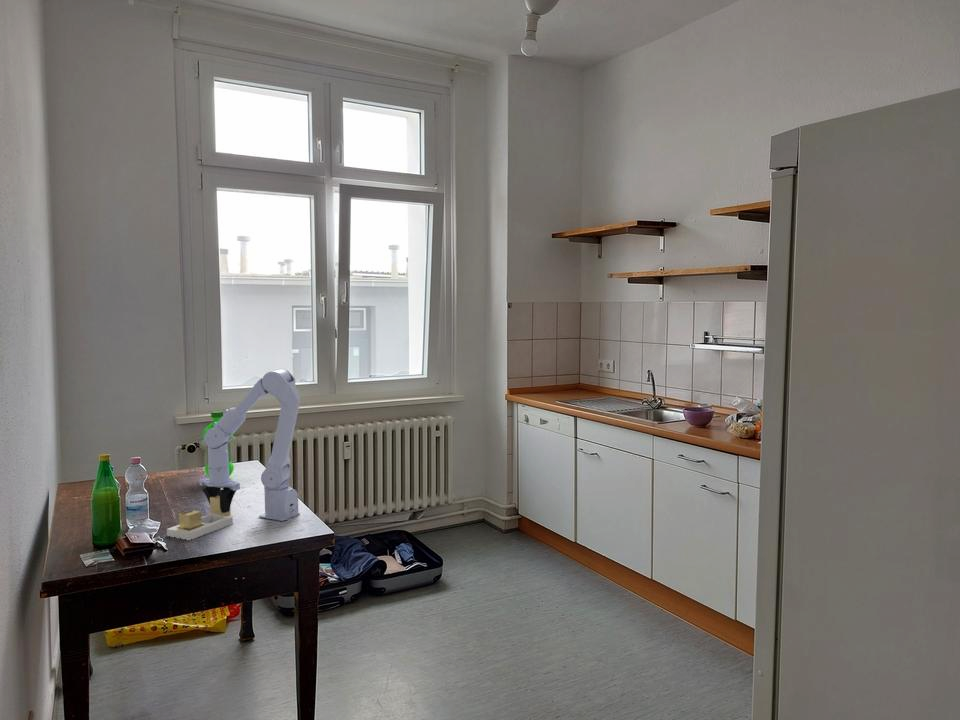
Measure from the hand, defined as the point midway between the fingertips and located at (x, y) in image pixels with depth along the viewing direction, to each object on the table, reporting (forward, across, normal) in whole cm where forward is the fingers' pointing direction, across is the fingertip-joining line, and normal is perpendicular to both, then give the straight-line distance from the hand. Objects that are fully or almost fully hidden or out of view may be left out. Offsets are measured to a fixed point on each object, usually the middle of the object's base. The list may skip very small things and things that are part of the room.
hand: (220, 510), depth 204 cm
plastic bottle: (+2, -34, +32) cm, 47 cm away
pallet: (+1, +5, -12) cm, 13 cm away
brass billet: (+1, 0, 0) cm, 1 cm away
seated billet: (+2, +5, -16) cm, 16 cm away
